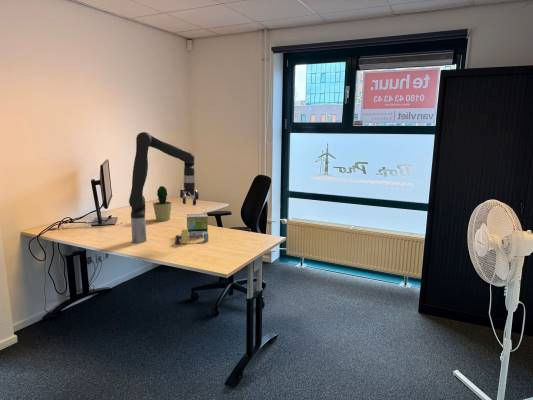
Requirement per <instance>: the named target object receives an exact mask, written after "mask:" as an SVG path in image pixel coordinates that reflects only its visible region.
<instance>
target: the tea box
mask: <svg viewBox="0 0 533 400" xmlns="http://www.w3.org/2000/svg"><path fill="white" fill-rule="evenodd" d="M208 218H209V216H208V214H207V213H187V214H186V229H188V233H189V235H200V234H202V233H204V232H208V233H209V231H208V227H209V226H208V225H209V224H208V221H209V220H208Z"/></svg>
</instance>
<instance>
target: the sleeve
mask: <svg viewBox="0 0 533 400" xmlns="http://www.w3.org/2000/svg"><path fill="white" fill-rule="evenodd" d="M180 236H182V239H180V240H181V241H180V242H182V243H183V242H184V243H185V242H190V238H189V233H188V229H187V228H181V232H180Z"/></svg>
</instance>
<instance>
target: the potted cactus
mask: <svg viewBox="0 0 533 400" xmlns="http://www.w3.org/2000/svg"><path fill="white" fill-rule="evenodd" d="M168 195H169V194H168V190H167V188H166V187H165V186H163V185H160V186H158V187H157V190H156V197H157V200H158V201H156V202H155V201H154V202H153V203H152V206H153V211H154V214H155V215H154V216H155V220H156V221H157V222H168V220H169V221H170V220H171V215H172V214H171V212H172V205H173V204H172V203H173V202H171V201H167V198H168Z"/></svg>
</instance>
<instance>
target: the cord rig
mask: <svg viewBox="0 0 533 400" xmlns="http://www.w3.org/2000/svg"><path fill="white" fill-rule="evenodd" d="M198 238H201V239H202V240H204V242H205V243H208V242H209V231H208V232H204V233H202V234H200V235H189V239H198ZM181 239H182V236H181V235H179V234H177V235H176V234H175V241H174V243H175V245H176V246H179V245H182V244H181V241H180V240H181Z"/></svg>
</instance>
